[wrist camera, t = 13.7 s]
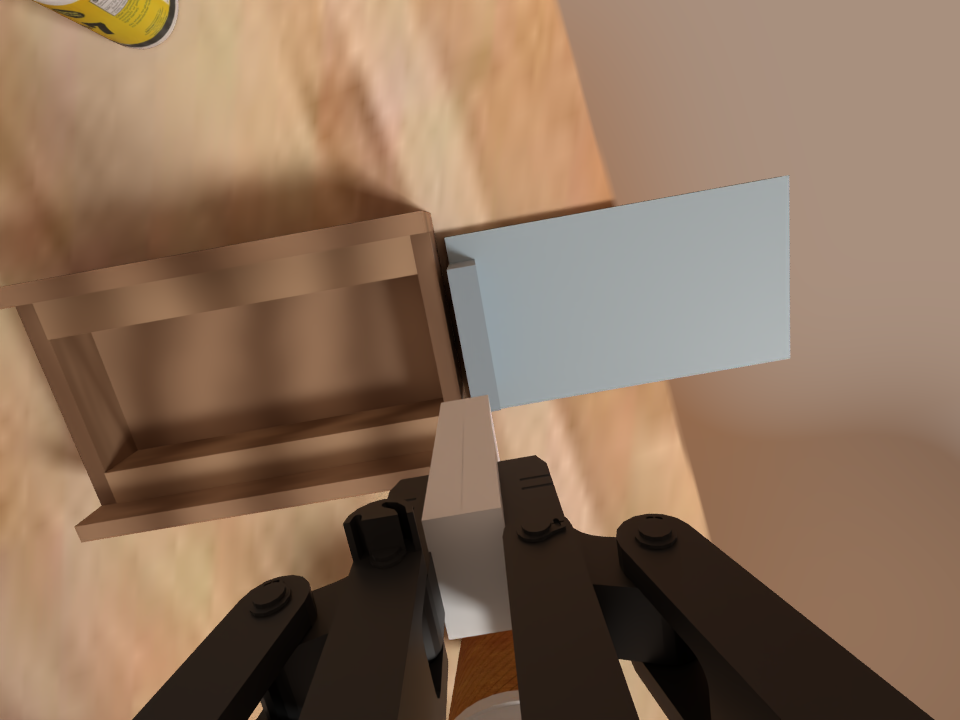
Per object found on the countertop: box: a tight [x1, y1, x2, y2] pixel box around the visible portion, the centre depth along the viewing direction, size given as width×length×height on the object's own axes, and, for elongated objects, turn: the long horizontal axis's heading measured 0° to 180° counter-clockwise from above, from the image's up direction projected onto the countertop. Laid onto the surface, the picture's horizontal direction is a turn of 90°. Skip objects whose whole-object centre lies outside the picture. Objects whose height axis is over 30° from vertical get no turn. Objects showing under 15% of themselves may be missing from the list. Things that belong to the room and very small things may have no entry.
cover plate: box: [444, 175, 790, 412], centre depth 28 cm, size 20×11×5 cm, turn 100°
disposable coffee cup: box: [449, 630, 521, 720], centre depth 31 cm, size 10×10×12 cm
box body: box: [0, 211, 466, 542], centre depth 28 cm, size 22×14×6 cm, turn 100°
